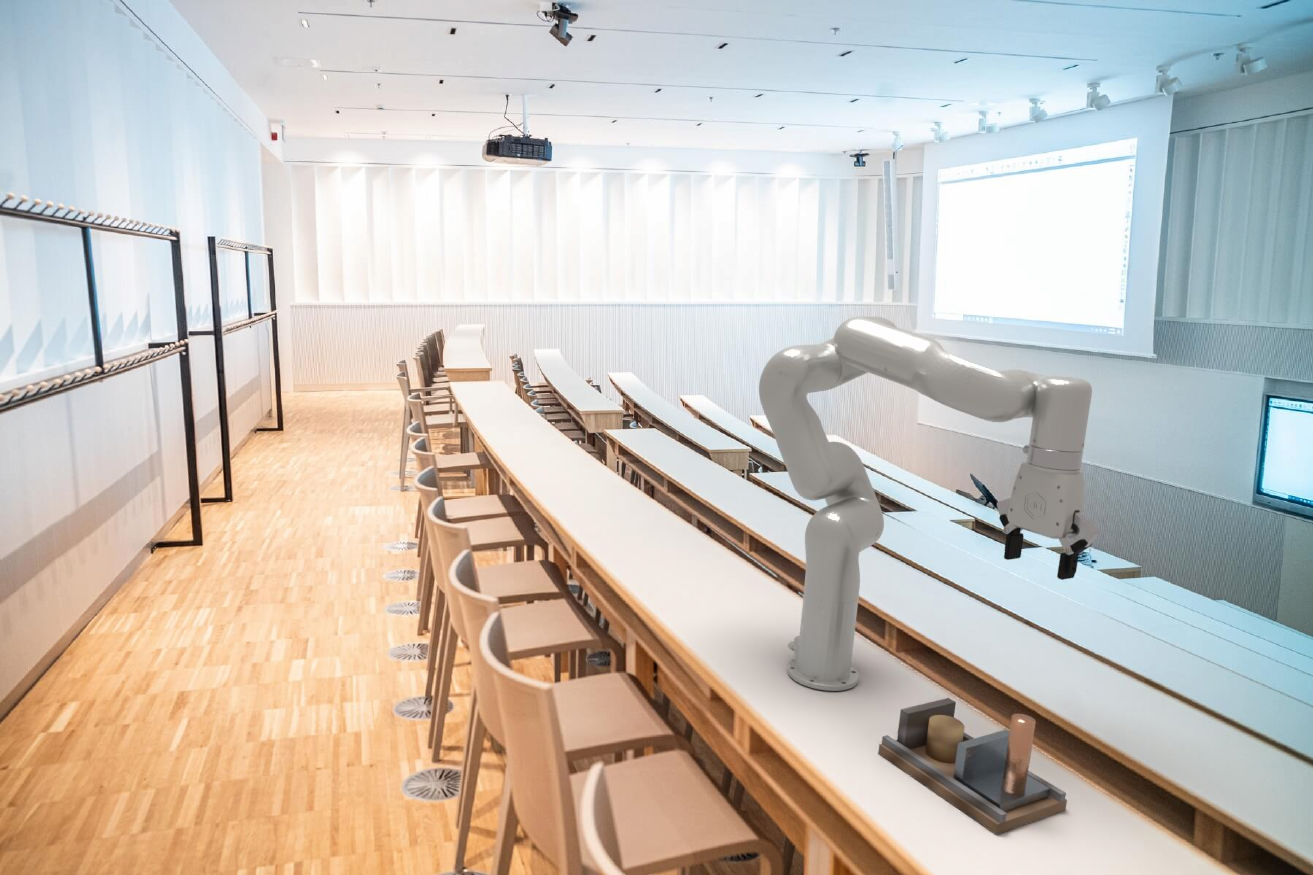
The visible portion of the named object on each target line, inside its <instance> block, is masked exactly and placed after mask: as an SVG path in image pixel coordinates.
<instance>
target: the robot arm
mask: <svg viewBox="0 0 1313 875" xmlns="http://www.w3.org/2000/svg"><path fill="white" fill-rule="evenodd" d="M868 373H869V374H872V375H874V376H878V377H881V378H883V379H886V380H888V381H891V382H894V383H897V384H899V385H901V386H902V385H903V386H904V387H907V388H908V389H909V388H910V389H912V390H915V391H916V392H917V393H919V394H921V395H923V396H926V397H928V398H930V399H932V400H933V401H935V402H937V403H939V404H941V405H944V406H946V407H948V408H950V409H954V410H955V411H958V412H961V413H964V414H967V415H970V416H972V417H974V418H978V419H981V420H984V421H988V422H992V423H1005V422H1009V421H1013V420H1015V419H1021V418H1022V419H1023V418H1030V419H1031V418H1032V422H1031V426H1030V427H1031V429H1030V435H1029V442H1028V444H1025V445H1024V446H1023V449H1022V453H1023V454H1025V455H1026V454H1027V455H1026V456H1027V457H1026V461H1025V462H1021V464H1020V466H1019V469H1018V471H1017V474H1016V476H1015V480H1014V483H1013V487H1012V492H1011V494H1010V498H1009V497H1008V498H1006V499H1002V500H1000V501H997V502H996V508H997V512H998V514H999V522H1000V523H1001V524H1002V526H1003V533H1004V534H1005V535H1006V536H1005V537H1006V538H1005V545H1004V555H1003V559H1004V560H1007V561H1009V560H1016V559H1020V558H1021V555H1022V549H1023V543H1024V533H1022V531H1023V530H1025V531H1026V532H1027V531H1028V532H1029V533H1034V534H1037V535H1039V536H1042V537H1045V538H1049V539H1054V540H1058V541H1059V542H1060V545H1061V546H1062V549H1063V551H1064V552H1061V553H1060V556H1059V562H1058V569H1057V576H1056V577H1057V579H1059V580H1068V579H1069V580H1070V579H1073V578H1075V574H1076V573H1077V570H1078V562H1079V556H1080V554H1082V553H1084V551H1085V550H1087V549H1088V548H1091V547H1092V545H1093V543H1094V541H1095V540H1096V539H1097V538H1098V536H1099V534H1100V531H1099V529H1098V528H1097V527H1096V526H1095V525H1094V524H1093V523H1091V522H1090V520H1088V518H1086V517H1085V516H1084V503H1085V482H1084V481H1085V480H1084V478H1085V477H1084V473H1083V472H1081V468H1082V461H1083V455H1084V448H1085V447H1084V446H1085V442H1086V433H1087V427H1088V422H1089V420H1088V419H1089V415H1090V408H1091V401H1092V395H1093V388H1092V384H1091V383H1090V382H1089V381H1088V380H1085V379H1082V378H1081V379H1080V378H1076V377H1072V376H1071V377H1070V376H1069V377H1068V376H1059V375H1057V376H1056V375H1052V376H1048V375H1042V374H1038V373H1034V372H1030V371H1027V370H1023V369H1022V370H1021V369H1008V370H1007V369H1006V370H995V369H992V368H988V367H985V366H982V365H979V364H976V363H973V362H970V361H967V360H966V359H963V358H960V357H958V356H956V355H955V354H951V353H950V352H949V351H947V350H945V348H943V345H941V343H940V342H939V341H937V340H936V339H933V338H931V337H928V336H924V335H921V334H918V333H914V332H912V331H909V330H906V329H903V328H899V327H898V326H897V325H895V323H893V322H892V321H891V320H890V319H887V318H885V317H883V316H865V315H864V316H863V315H862V316H854V317H851V318H848V319H846V320H844V321H843V322H841V324H840V325H839V326H838V327H837V328H836V330H835V333H834V334H833V337H832V338H830V339H829V340H826V341H824V342H821V343H818V344H799V345H793V346H789V347H785V348H783V349H781V350H779V351H777V352H776V353H775V354H774V355H773V356H771V357H770V359H769V360H768V361H767V363H766V364H765V365H764V368H763V370H762V372H761V374H760V378H759V382H758V394H759V400H760V405H761V407H762V410H763V413H764V415H765V418H766V420H767V422H768V424H769V427H770V429H771V431H772V433H773V435H774V440H775V441H776V444H777V447H778V450H779V452H780V453H779V454H780V455H781V458H782V460H783V463H784V466H785V468H786V471H787V473H788V477H789V478H790V480H791V483H792V484H791V485H792V487H793V488H794V490H795V491H796V493H797V494H798V495H799V496H800V497H801V498H803V499H805V500H807V501H808V500H809V501H820V500H825V503H826V506H825V507H822V508H821V509H819V510H818V511H817V512H815V513H814V514H813V515H812V516H811V517H810V519H809V521H808V522H807V525H806V528H805V532H804V549H805V573H804V574H805V576H804V578H805V579H804V586H803V587H804V588H803V598H802V607H801V608H802V609H801V619H800V629H799V635H797V636H795V638H794V639H793V641H789V642H788V644H787V648H789V649H790V650H791V651H793V652H794V658H793V659H791V660H790V661H789V662H788V664H787V670H786V671H787V674H788V675H789V677H790V678H791V679H792V680H794V681H795V682H796V683H798V684H800V685H802V686H805V687H808V688H812V689H815V690H820V691H827V692H828V691H829V692H830V691H831V692H841V691H846V690H849V689H852V688H854V687H855V686H857V685H858V684H859V677H860V675H859V672H858V671H857V669H856V668H855V667H853V665H852V660H853V650H854V644H855V642H854V641H855V633H856V632H855V631H856V625H857V615H858V607H859V606H858V605H859V597H860V589H861V588H860V585H861V572H860V564H859V558H860V557H859V556H860V553H861V552H862V551H864V550H866V549H868V548H870V547H871V546H873V545H874V544H876V543H877V542H879V539H880V538H881V536H882V535H883V532H884V527H885V520H884V515H883V511H882V509H881V508H882V507H881V506H880V503H879V500H878V498H877V496H876V493H875V490H874V488H873V485H872V482H871V480H870V478H869V476H868V473H867V470H866V468H865V466H864V464H863V462H862V459H861V458H860V457H859V455H858V453H857V452H856V451H855V450H854V449H853V448H852V447H851V446H849V445H847V444H846V443H842V442H841V441H840V442H839V441H829V439H828V438H827V435H826V433H825V430H824V428H823V425H822V422H821V419H820V417H819V415H818V414H817V412H816V411H815V409H814V408H813V407H812V405H811V403H809V400H808V398H807V396H808V394H809V393H810V394H812V393H813V394H814V393H818V392H824V391H829V390H832V389H835V388H838V387H839V386H842V385H845V384H846V383H848V382H851V381H853V380H855V379H856V378H859V377H861V376H864V375H866V374H868ZM1080 531H1082V532H1083V535H1082V537H1081V538H1079V536H1078V535H1080Z"/></svg>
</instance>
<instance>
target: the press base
mask: <svg viewBox="0 0 1313 875" xmlns="http://www.w3.org/2000/svg"><path fill="white" fill-rule="evenodd" d="M956 703H957V702H956V701H955V700H953V699H951V698H950V697H946V698H942V699H938V700H934V701H930V702H925V703H921V704H918V705H913V706H909V707H904V708H902V709H901V708H900V713H899V721H898V730H897V737H896V739H894V738H893V737H892V736H890V735H888V734H887V735H883V736H882V737H881V739H882V740H881V743H879V744H878V752H877V753H878V755H880V757H883V758H884V759H885V760H887V761H888V762H890V763H891V764H893V765H894V766H896V767H897V768H899V770H902V772H904V773H906V774H908V775H909V776H910V777H912V778H913V779H914V780H916V781H917V782H919V783H920V784H922V785H924V786H925V787H926V788H928V789H929V790H930V791H932V792H933V793H935V794H936V795H938V796H939V797H941V798H942V799H943V800H945V801H946V802H948V803H949V804H950V805H952V806H953V807H954V808H957V809H958V810H960V811H961V812H963V814H965V815H967V816H968V817H970V818H971V819H973V820H974V822H977V823H978V824H979V825H982V827H984V828H985V829H987V830H988V831H989V832H991V833H992V834H994V835H997V836H998V835H1000V834H1002V833H1005V832H1007V831H1011V830H1013V829H1017V828H1020V827H1021V826H1024V825H1027V824H1030V823H1033V822H1036V821H1038V820H1041V819H1045V818H1046V817H1049V816H1051V815H1055V814H1058V813H1061V812H1064V811H1066V808H1067V802H1068V800H1067V799H1066V796H1067V793H1066V792H1065V790H1062V789H1060V788H1059V787H1057V786H1055V785H1054V784H1052V783H1050V782H1049V781H1047V780H1045V779H1044V778H1042V777H1040V776H1039V775H1037V774H1035V773H1033V772H1032V771H1030V770H1028V776H1030V777H1032V778H1033V779H1035V780H1037V781H1038V782H1040V783H1042V784H1043V785H1045V786H1047V787H1048V788H1050V791H1049V796H1048V797H1045V798H1042V799H1039V800H1036V801H1033V802H1031V803H1028V804H1025V805H1022V806H1019V807H1016V808H1013V809H1010V810H1007V811H1002V810H1001V809H999V808H998V807H996V806H995V805H993V804H992V803H990V802H989V801H987V800H986V799H984V798H983V797H981V796H980V795H978V794H977V793H975V792H974V791H972V790H970V789H969V788H967V787H966V786H964V785H963V784H961V783H960V782H958V781H957V780H955V779H954V778H953V777H954V770H955V763H944V762H939V761H936V760H934V759H932V758H930V757H929V756H928V755H927V754H926V752H925V749H926V741H927V734H928V726H929V719H930V717H932V716H934V715H946V716H950V717H953V718H955V711H956V705H957V704H956ZM974 738H975V737H972V736H971V735H969V734H968V733H966V732H964V735H963V741H967V740H971V739H974Z"/></svg>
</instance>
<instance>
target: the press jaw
mask: <svg viewBox="0 0 1313 875" xmlns="http://www.w3.org/2000/svg"><path fill="white" fill-rule="evenodd" d="M1010 719H1011V720H1010V726H1009V729H1003V730H1000V731H996V732H993V733H989V734H985V735H982V736H981V735H980V736H979V737H978V736H977V737H973V738H974V739H971V740H967V741H963V742H960V743H958V748H957V755H956V762H955V770H954V777H953V778H954V779H955V780H957V781H958V782H960V783H961V784H963V785H964V786H966V787H967V788H969V789H970V790H972V791H974V792H975V793H977V794H978V795H980V796H981V797H983V798H984V799H986V800H987V801H989V802H990V803H992V804H993V805H995V806H996V807H998V808H999V809H1001V810H1002V811H1007V810H1010V809H1013V808H1016V807H1019V806H1022V805H1025V804H1028V803H1031V802H1033V801H1036V800H1039V799H1042V798H1045V797H1048V796H1049V791H1050V788H1048V787H1047V786H1045V785H1043V784H1042V783H1040V782H1038V781H1037V780H1035V779H1033V778H1032V777H1030V776H1028V771H1030V770H1029V768H1030V761H1031V755H1032V750H1033V749H1032V748H1033V743H1034V742H1033V741H1034V734H1035V729H1036V723H1037V721H1036V719H1035V718H1034V717H1032V716H1030V715H1027V714H1024V713H1014V714H1012V715H1011V718H1010Z"/></svg>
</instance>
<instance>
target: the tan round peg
mask: <svg viewBox="0 0 1313 875" xmlns="http://www.w3.org/2000/svg"><path fill="white" fill-rule="evenodd" d="M964 733H965V724H964V723H963V722H962V721H961V720H960V719H958V718H956V717H954V718H953V717H950V716H946V715H934V716H932V717H930V719H929V726H928V734H927V741H926V749H925V752H926V754H927V755H928V756H929V757H930V758H932V759H934V760H936V761H939V762H944V763H955V762H956V755H957V748H958V743H960V742H963V735H964Z"/></svg>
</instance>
